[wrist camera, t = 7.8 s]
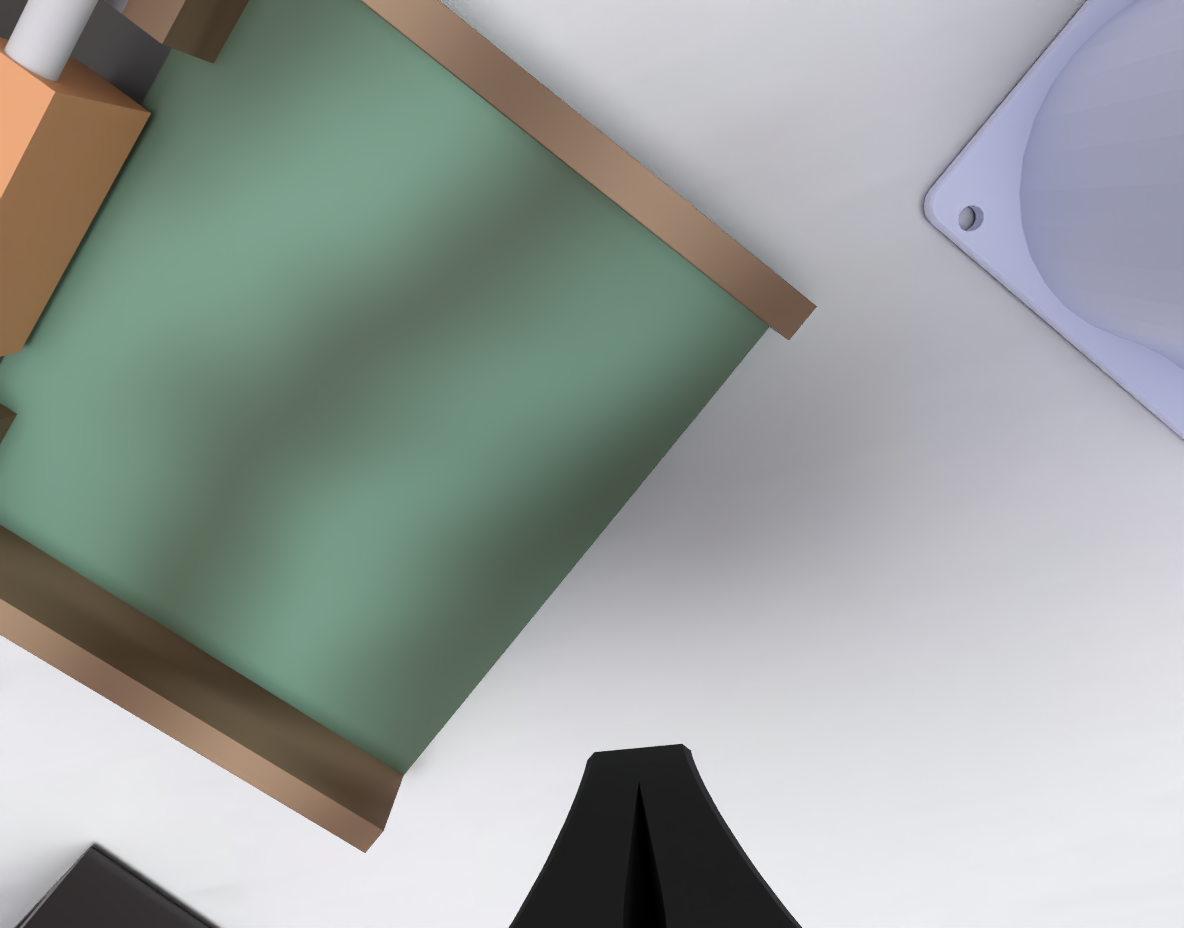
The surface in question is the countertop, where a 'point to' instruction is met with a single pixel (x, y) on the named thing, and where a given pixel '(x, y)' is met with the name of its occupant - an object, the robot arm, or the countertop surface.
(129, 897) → the phone stand
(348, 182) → the pitch
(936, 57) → the countertop surface
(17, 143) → the kicker
